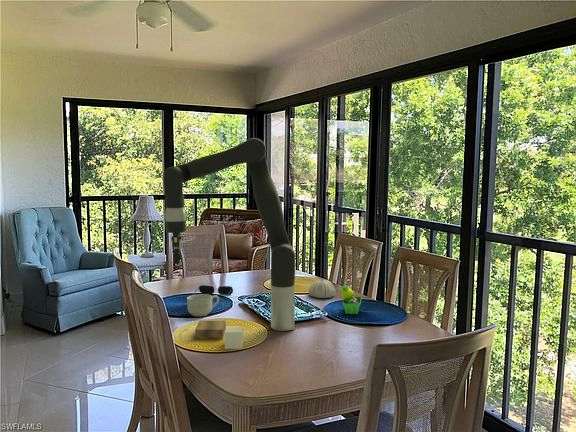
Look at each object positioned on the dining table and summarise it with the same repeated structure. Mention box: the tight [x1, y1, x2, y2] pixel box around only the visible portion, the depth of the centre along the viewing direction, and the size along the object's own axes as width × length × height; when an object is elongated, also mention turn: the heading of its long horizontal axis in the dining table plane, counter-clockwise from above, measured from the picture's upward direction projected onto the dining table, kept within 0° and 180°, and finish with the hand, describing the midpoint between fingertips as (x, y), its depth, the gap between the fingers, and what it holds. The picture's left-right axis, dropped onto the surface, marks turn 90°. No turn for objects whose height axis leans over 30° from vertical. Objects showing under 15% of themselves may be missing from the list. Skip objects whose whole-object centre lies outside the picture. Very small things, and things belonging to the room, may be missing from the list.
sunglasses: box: [192, 284, 234, 304], centre depth 226 cm, size 17×15×5 cm
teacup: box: [186, 293, 220, 317], centre depth 201 cm, size 14×11×8 cm
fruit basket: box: [340, 285, 362, 315], centre depth 207 cm, size 11×9×11 cm
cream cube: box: [224, 325, 244, 350], centre depth 167 cm, size 6×6×6 cm
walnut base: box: [194, 320, 227, 340], centre depth 178 cm, size 10×10×4 cm
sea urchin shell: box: [308, 279, 337, 299], centre depth 231 cm, size 13×14×8 cm
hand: (177, 261), depth 180 cm, fingers open, 8 cm apart
